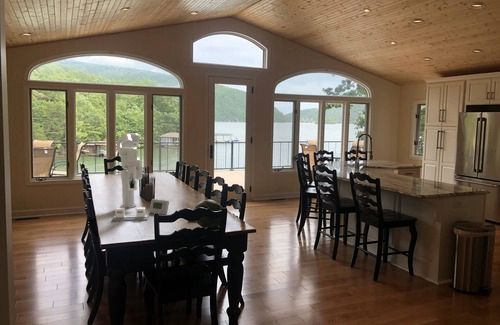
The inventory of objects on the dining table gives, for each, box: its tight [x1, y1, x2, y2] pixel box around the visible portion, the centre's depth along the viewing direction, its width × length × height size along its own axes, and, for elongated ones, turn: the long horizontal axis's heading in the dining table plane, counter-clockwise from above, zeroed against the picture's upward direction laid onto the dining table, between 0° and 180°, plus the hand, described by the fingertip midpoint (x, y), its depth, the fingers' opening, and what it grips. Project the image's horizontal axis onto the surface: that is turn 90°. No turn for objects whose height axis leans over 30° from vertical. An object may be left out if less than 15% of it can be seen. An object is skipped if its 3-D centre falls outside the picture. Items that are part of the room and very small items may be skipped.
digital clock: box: [149, 198, 170, 215], centre depth 317 cm, size 16×9×11 cm, turn 57°
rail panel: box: [111, 206, 150, 222], centre depth 299 cm, size 13×25×8 cm, turn 98°
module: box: [128, 179, 138, 191], centre depth 309 cm, size 5×6×8 cm
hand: (132, 187), depth 309 cm, fingers closed on module, 5 cm apart
